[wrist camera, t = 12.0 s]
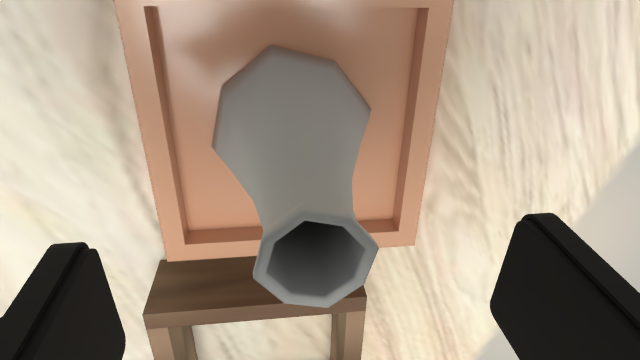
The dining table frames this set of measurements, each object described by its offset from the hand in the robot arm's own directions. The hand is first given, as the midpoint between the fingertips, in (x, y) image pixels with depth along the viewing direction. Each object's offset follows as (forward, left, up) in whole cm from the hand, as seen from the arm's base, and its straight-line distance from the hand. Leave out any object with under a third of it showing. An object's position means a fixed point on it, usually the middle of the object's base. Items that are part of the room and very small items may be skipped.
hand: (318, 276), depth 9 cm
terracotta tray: (+1, 0, -12) cm, 12 cm away
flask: (+1, 0, -11) cm, 11 cm away
